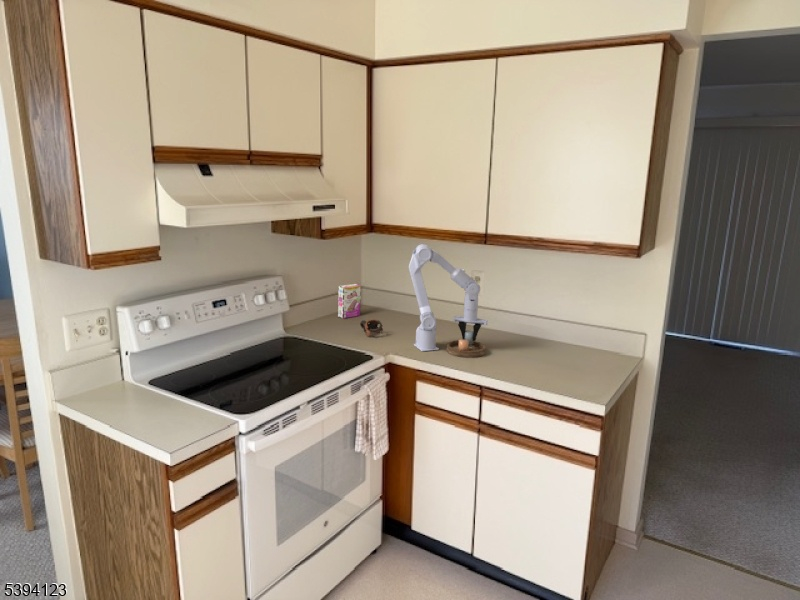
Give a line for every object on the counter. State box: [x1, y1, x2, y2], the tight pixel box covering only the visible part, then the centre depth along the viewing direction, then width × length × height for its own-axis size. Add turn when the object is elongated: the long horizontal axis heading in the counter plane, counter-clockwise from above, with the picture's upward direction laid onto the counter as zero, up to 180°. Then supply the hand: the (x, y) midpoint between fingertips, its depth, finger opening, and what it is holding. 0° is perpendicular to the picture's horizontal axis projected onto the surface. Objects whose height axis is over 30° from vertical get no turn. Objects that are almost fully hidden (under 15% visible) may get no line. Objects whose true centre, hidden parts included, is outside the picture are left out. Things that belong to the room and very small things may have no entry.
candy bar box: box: [337, 283, 362, 320], centre depth 279 cm, size 11×5×16 cm, turn 130°
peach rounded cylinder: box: [458, 338, 469, 351], centre depth 225 cm, size 4×4×5 cm
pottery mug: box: [359, 318, 384, 338], centre depth 250 cm, size 12×10×8 cm
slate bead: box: [464, 329, 474, 344], centre depth 232 cm, size 4×4×5 cm
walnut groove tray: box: [446, 339, 486, 359], centre depth 229 cm, size 16×16×2 cm
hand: (469, 339), depth 233 cm, fingers closed on slate bead, 4 cm apart
